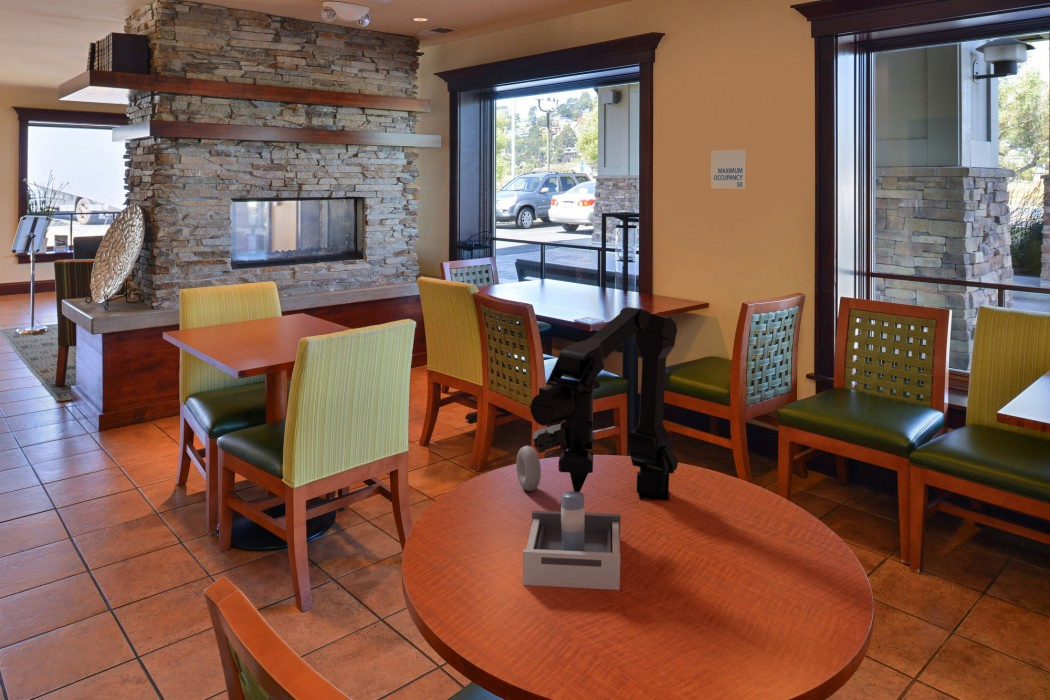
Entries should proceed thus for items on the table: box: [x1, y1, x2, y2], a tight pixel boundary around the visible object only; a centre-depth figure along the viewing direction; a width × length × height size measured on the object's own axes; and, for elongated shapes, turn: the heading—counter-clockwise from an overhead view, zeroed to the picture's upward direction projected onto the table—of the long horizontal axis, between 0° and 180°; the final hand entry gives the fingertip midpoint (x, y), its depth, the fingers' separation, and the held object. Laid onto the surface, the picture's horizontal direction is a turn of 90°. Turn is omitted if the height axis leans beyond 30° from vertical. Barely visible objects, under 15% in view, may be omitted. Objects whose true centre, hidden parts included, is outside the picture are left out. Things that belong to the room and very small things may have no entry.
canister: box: [560, 490, 586, 552], centre depth 138 cm, size 4×4×12 cm
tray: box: [531, 510, 622, 553], centre depth 142 cm, size 18×17×5 cm
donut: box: [515, 445, 542, 492], centre depth 175 cm, size 10×4×10 cm, turn 18°
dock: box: [522, 519, 621, 591], centre depth 141 cm, size 18×16×6 cm
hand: (576, 491), depth 153 cm, fingers closed
